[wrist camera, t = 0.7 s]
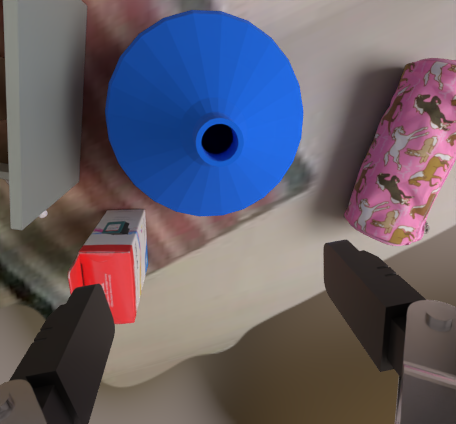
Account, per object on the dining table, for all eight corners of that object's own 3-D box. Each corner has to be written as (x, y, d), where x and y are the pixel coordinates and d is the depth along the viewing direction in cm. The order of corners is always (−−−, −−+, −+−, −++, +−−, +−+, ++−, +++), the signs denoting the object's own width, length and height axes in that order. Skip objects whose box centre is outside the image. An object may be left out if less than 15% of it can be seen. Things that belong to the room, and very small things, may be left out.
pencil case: (387, 226, 45) (432, 256, 37) (331, 216, 43) (365, 245, 35) (456, 72, 38) (530, 67, 30) (392, 51, 36) (452, 40, 28)
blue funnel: (184, -14, 31) (181, -148, 14) (309, 102, 37) (420, 113, 20) (92, 133, 35) (-2, 175, 18) (218, 217, 41) (242, 312, 24)
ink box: (149, 265, 42) (131, 346, 29) (111, 266, 42) (76, 350, 28) (145, 207, 39) (124, 269, 26) (105, 207, 39) (62, 270, 25)
